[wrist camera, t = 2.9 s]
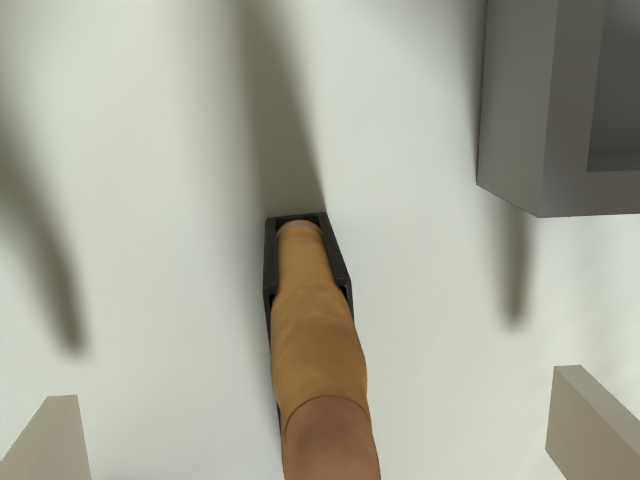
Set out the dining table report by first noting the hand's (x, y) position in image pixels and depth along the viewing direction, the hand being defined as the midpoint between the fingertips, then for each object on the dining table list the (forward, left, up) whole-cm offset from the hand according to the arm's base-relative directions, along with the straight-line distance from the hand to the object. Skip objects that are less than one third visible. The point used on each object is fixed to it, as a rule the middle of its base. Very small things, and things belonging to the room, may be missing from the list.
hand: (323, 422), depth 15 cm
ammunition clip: (0, 0, -3) cm, 3 cm away
